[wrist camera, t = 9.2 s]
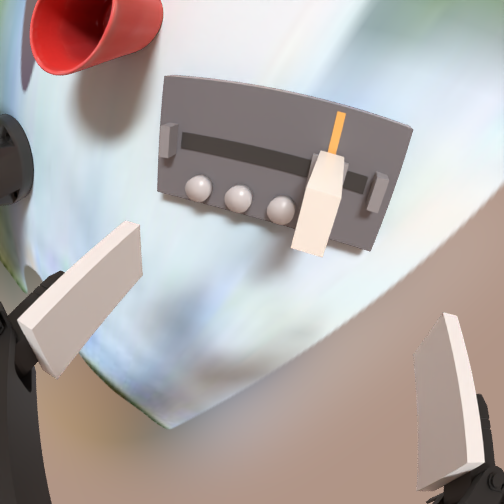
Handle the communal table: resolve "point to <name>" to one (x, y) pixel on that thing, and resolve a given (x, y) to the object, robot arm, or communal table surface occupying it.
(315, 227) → the fader tab
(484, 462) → the robot arm
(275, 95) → the console
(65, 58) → the flower pot
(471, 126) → the communal table surface
